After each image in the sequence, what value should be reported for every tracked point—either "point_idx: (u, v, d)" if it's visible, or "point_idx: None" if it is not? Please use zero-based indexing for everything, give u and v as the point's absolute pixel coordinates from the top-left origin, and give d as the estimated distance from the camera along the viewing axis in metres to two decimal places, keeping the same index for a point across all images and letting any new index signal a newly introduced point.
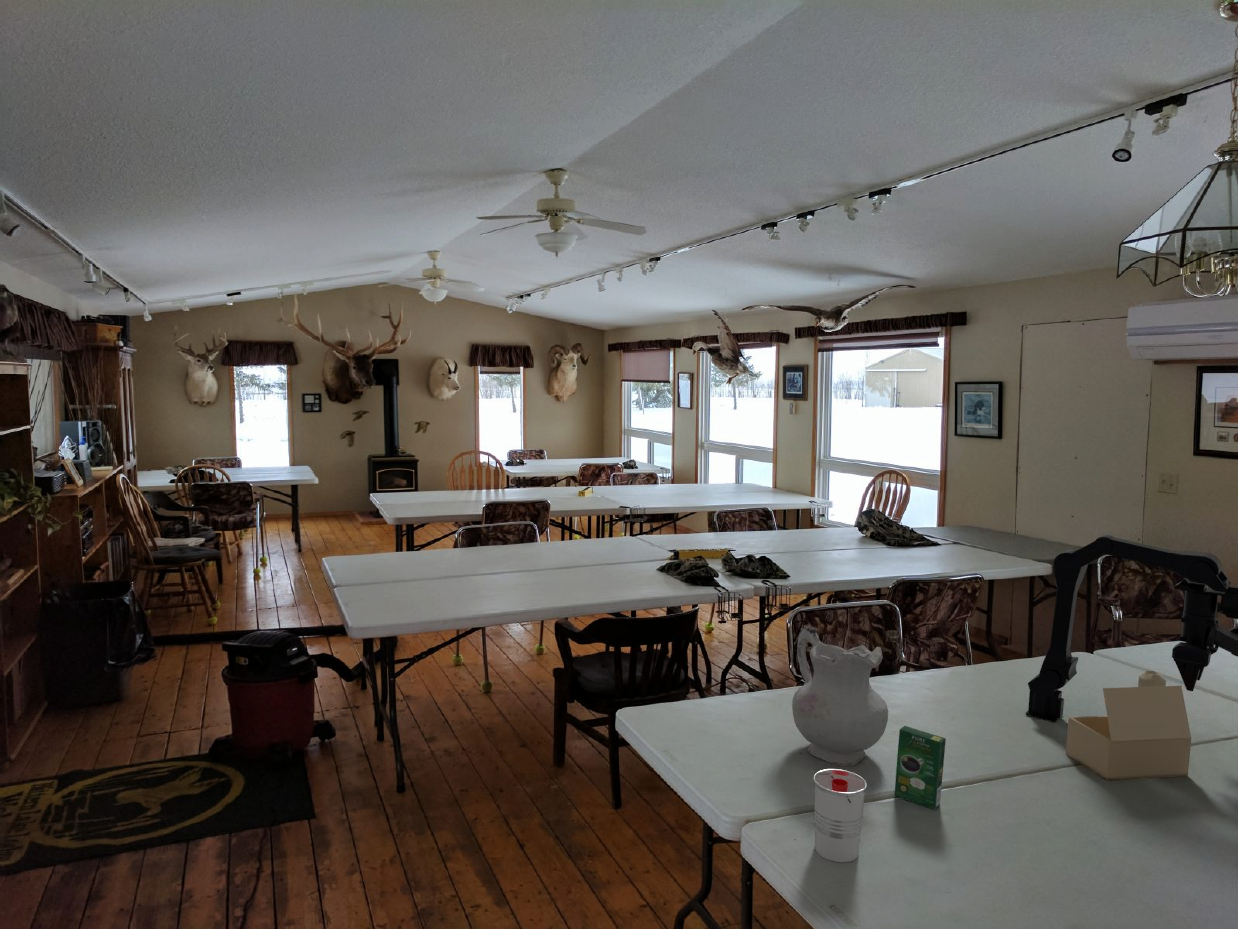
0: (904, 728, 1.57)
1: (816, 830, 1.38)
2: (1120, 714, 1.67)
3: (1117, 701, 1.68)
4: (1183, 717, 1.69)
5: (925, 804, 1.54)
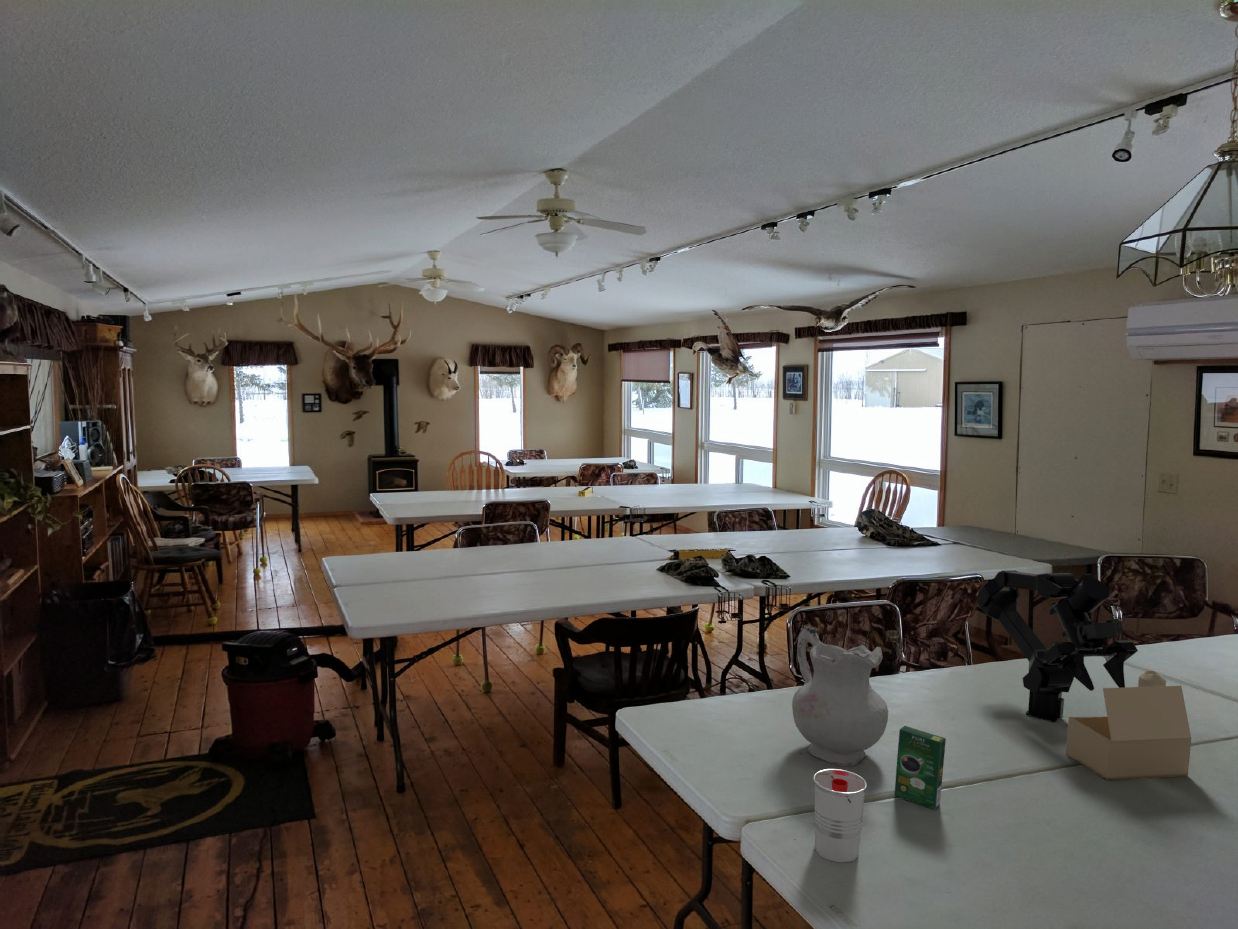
0: (904, 728, 1.57)
1: (816, 830, 1.38)
2: (1120, 714, 1.67)
3: (1117, 701, 1.68)
4: (1183, 717, 1.69)
5: (925, 804, 1.54)
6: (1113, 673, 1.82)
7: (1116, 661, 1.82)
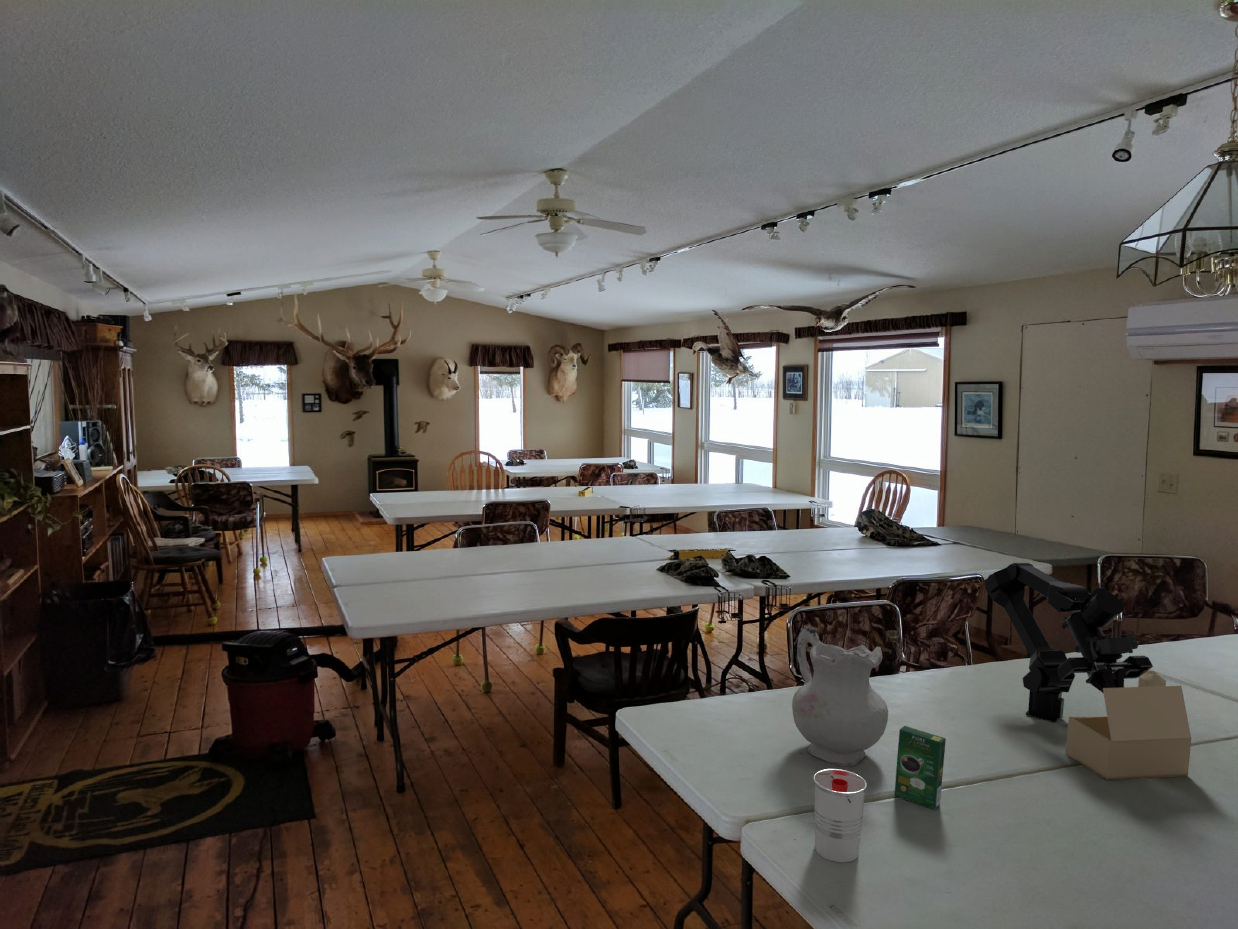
0: (904, 728, 1.57)
1: (816, 830, 1.38)
2: (1120, 714, 1.67)
3: (1117, 701, 1.68)
4: (1183, 717, 1.69)
5: (925, 804, 1.54)
6: None
7: (1116, 678, 1.77)
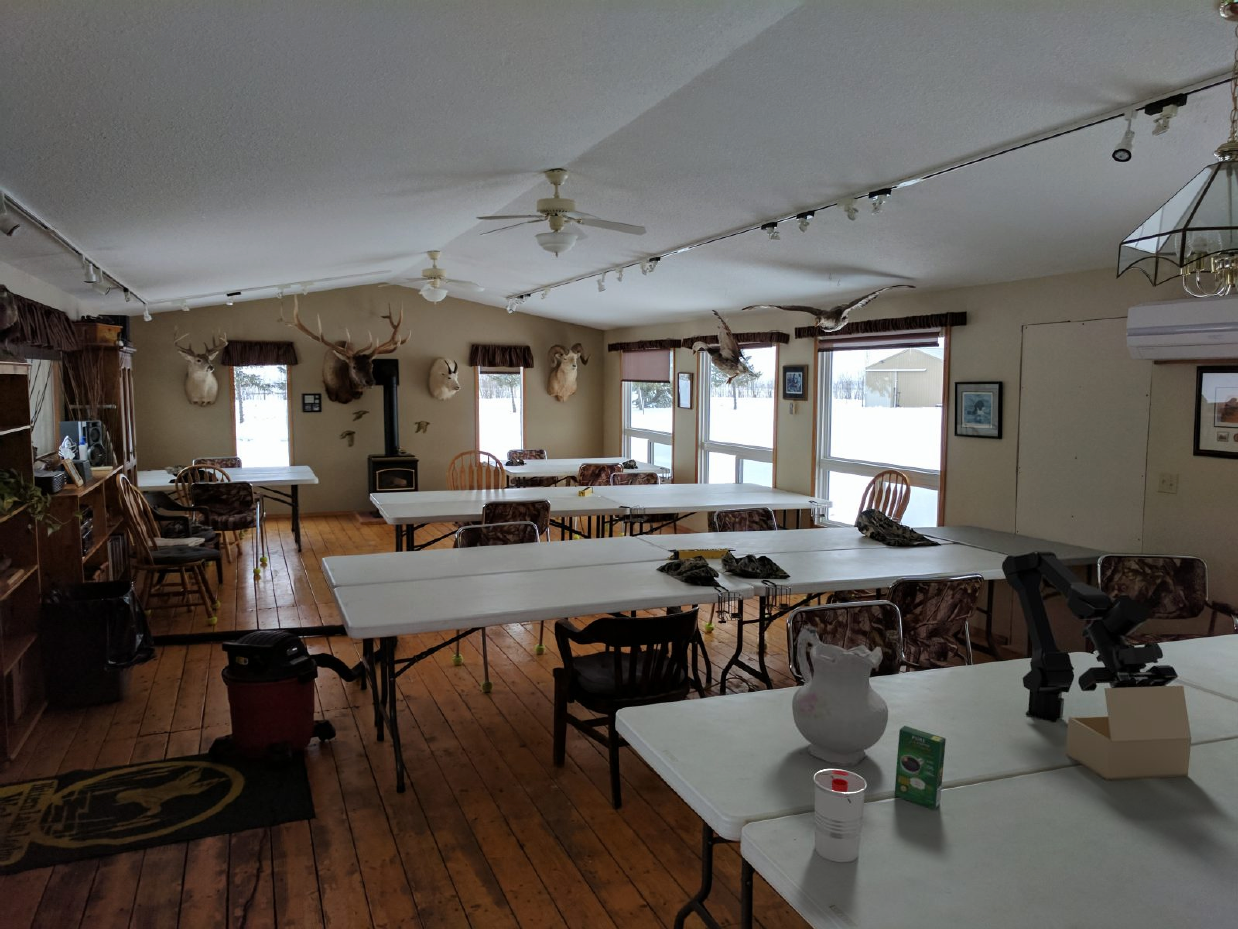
0: (904, 728, 1.57)
1: (816, 830, 1.38)
2: (1121, 714, 1.67)
3: (1118, 701, 1.67)
4: (1183, 717, 1.69)
5: (925, 804, 1.54)
6: None
7: None
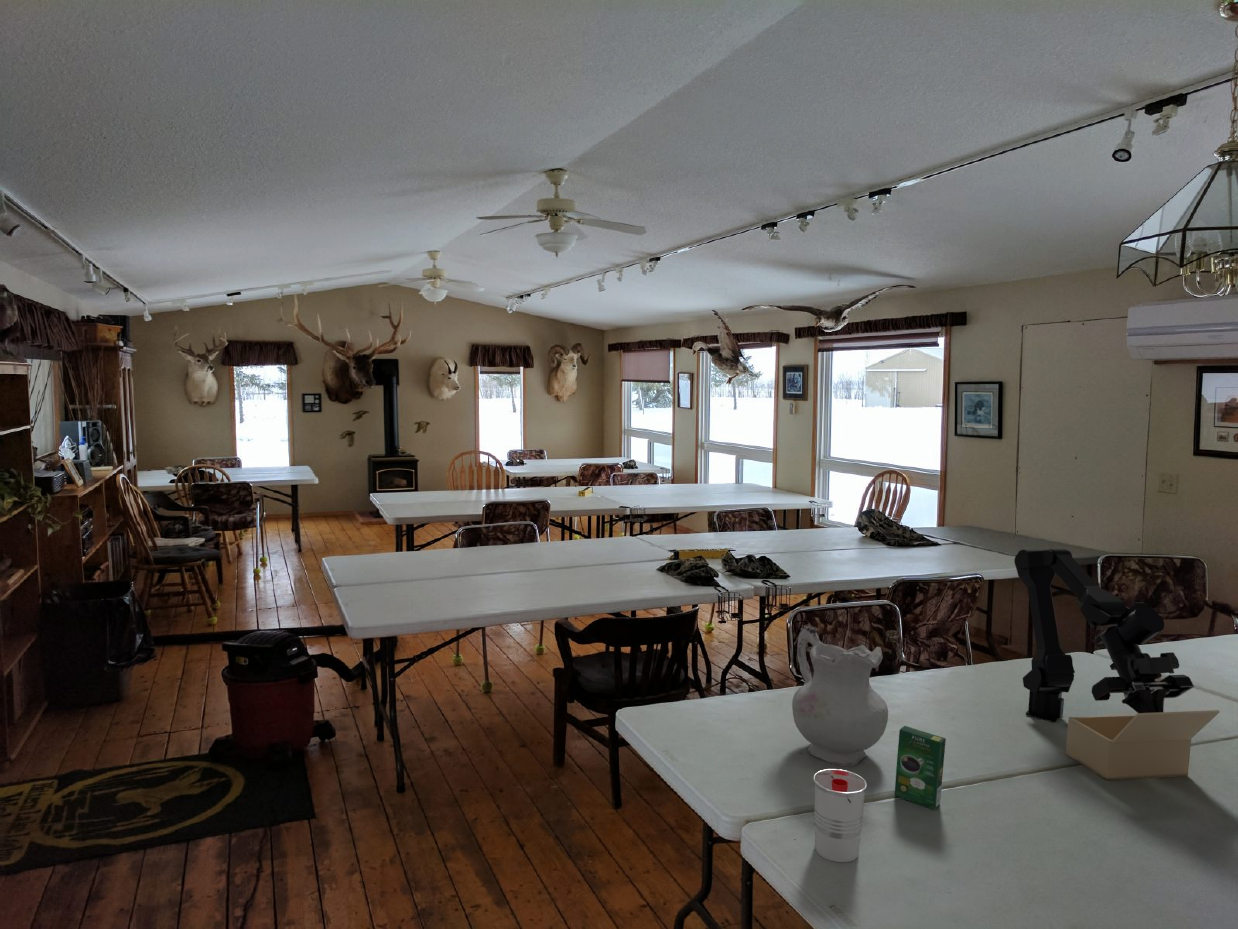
0: (904, 728, 1.57)
1: (816, 830, 1.38)
2: (1137, 728, 1.63)
3: (1143, 722, 1.61)
4: (1197, 729, 1.65)
5: (925, 804, 1.54)
6: None
7: (1155, 699, 1.67)
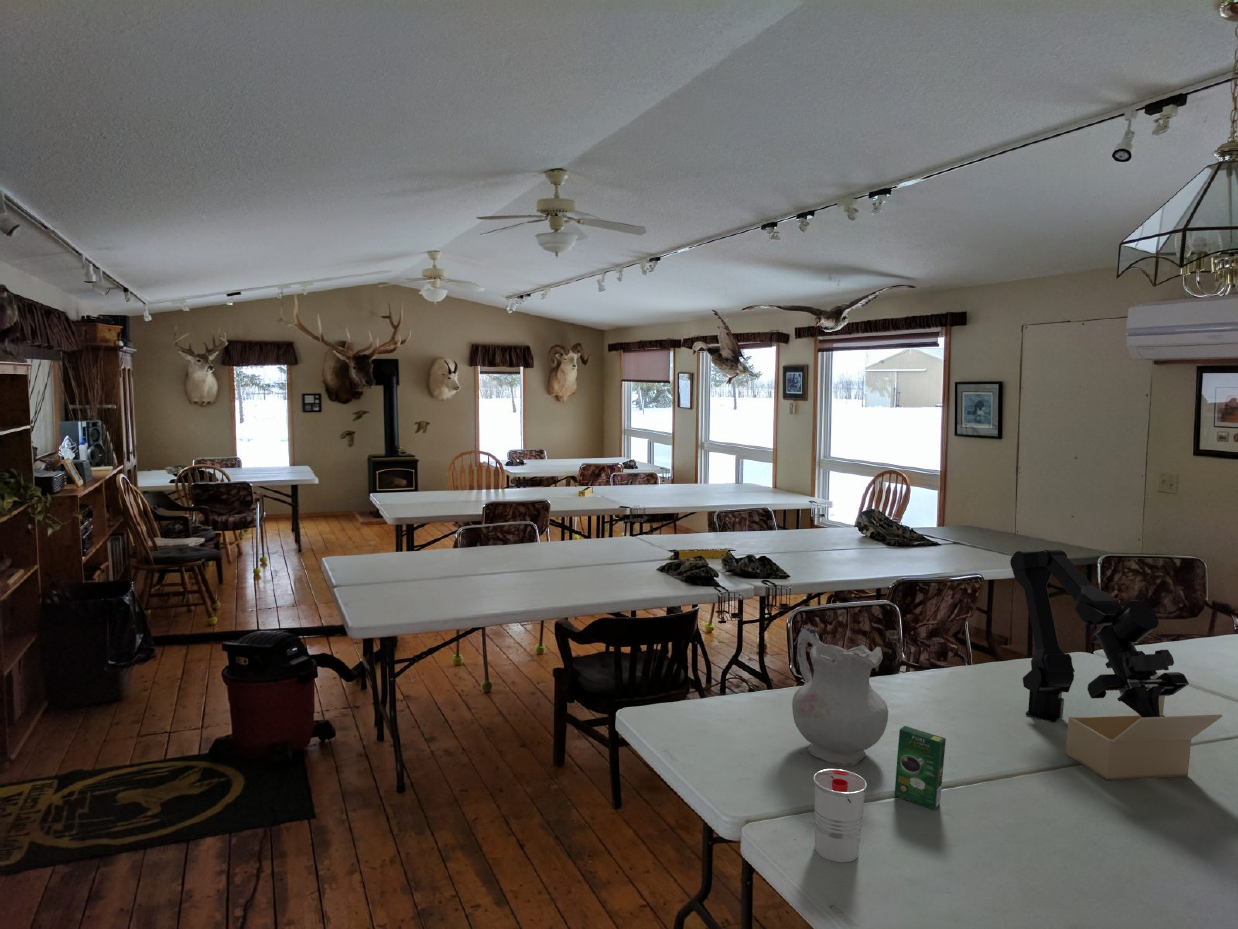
0: (904, 728, 1.57)
1: (816, 830, 1.38)
2: (1138, 731, 1.62)
3: (1145, 725, 1.61)
4: (1198, 730, 1.65)
5: (925, 804, 1.54)
6: None
7: (1151, 696, 1.68)
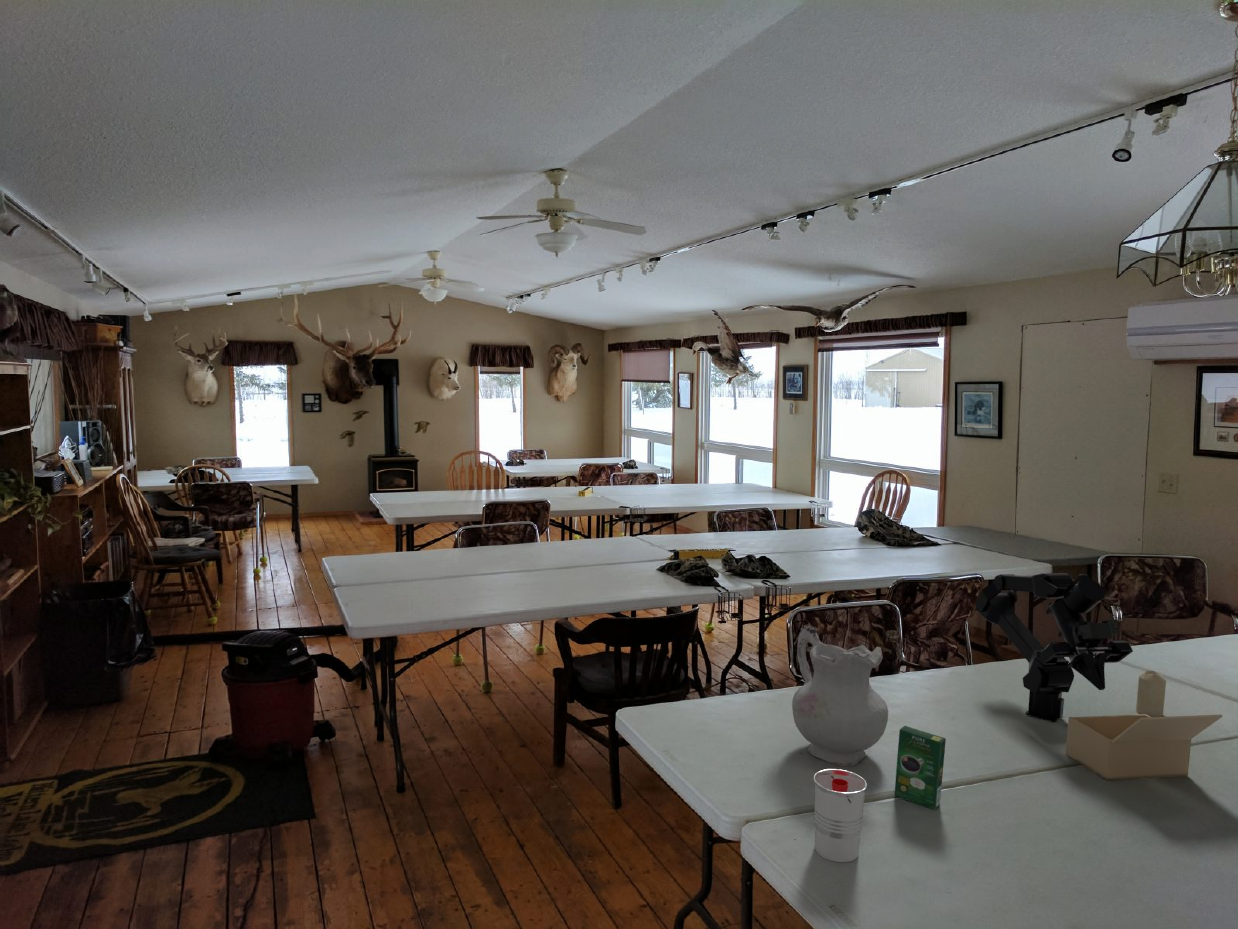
0: (904, 728, 1.57)
1: (816, 830, 1.38)
2: (1138, 731, 1.62)
3: (1145, 725, 1.61)
4: (1198, 730, 1.65)
5: (925, 804, 1.54)
6: None
7: (1097, 662, 1.83)
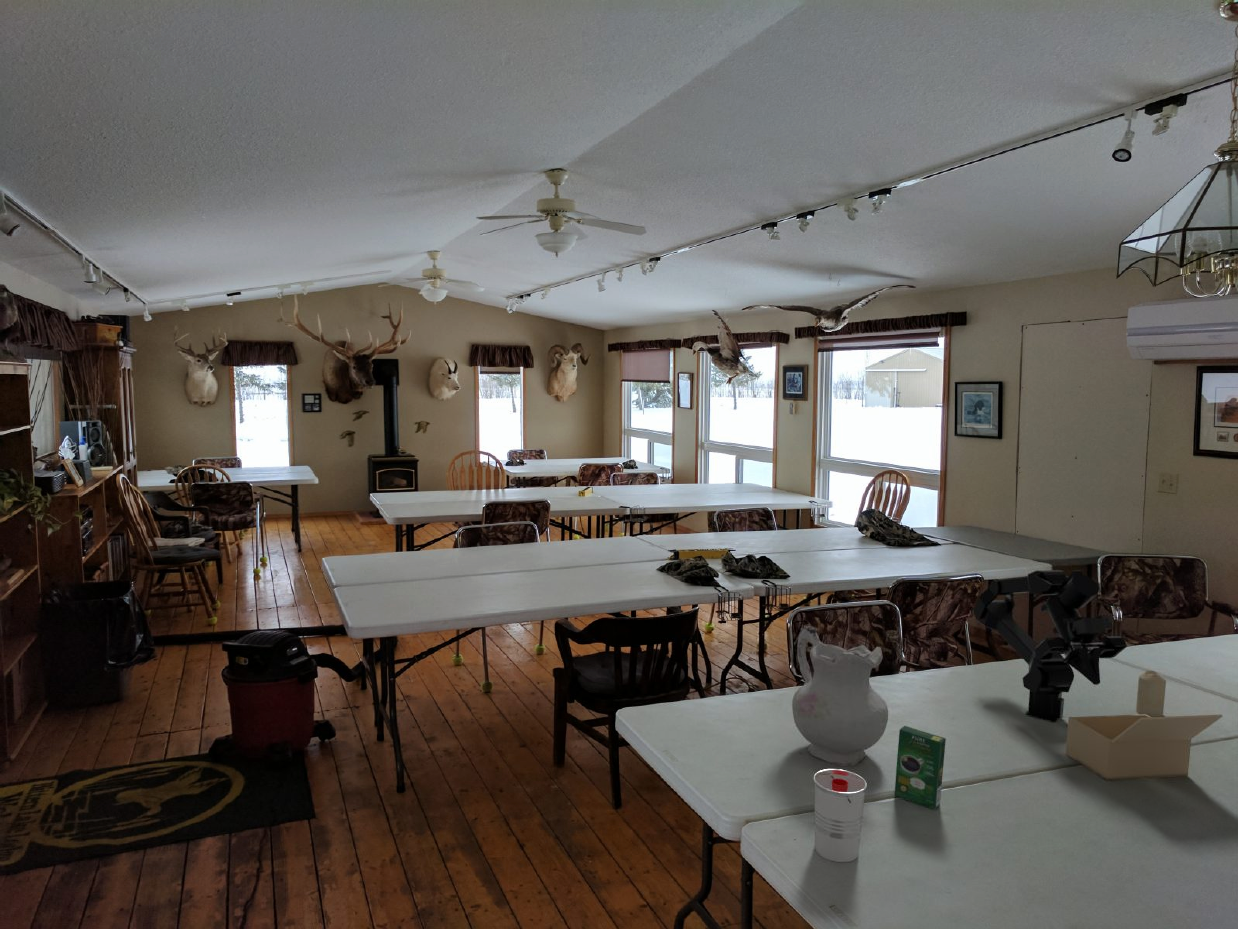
0: (904, 728, 1.57)
1: (816, 830, 1.38)
2: (1138, 731, 1.62)
3: (1145, 725, 1.61)
4: (1198, 730, 1.65)
5: (925, 804, 1.54)
6: None
7: (1092, 657, 1.84)
